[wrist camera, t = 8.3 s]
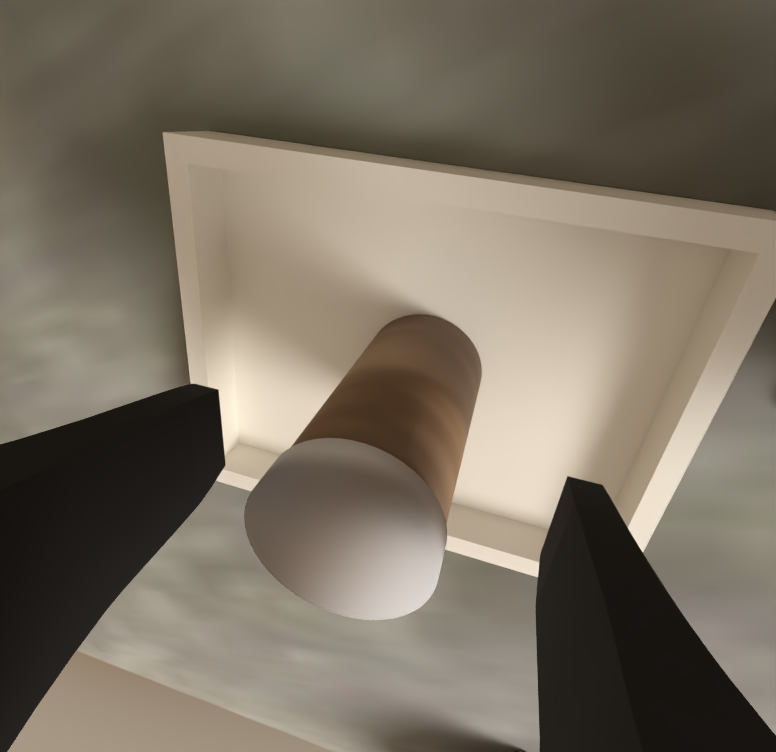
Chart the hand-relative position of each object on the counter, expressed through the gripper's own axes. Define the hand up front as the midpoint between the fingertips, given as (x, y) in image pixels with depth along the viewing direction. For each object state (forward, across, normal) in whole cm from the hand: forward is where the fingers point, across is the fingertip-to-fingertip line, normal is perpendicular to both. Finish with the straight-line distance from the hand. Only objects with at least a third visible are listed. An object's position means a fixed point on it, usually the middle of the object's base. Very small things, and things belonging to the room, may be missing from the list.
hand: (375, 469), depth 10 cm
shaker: (+9, +1, +2) cm, 9 cm away
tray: (+9, +1, +2) cm, 10 cm away
